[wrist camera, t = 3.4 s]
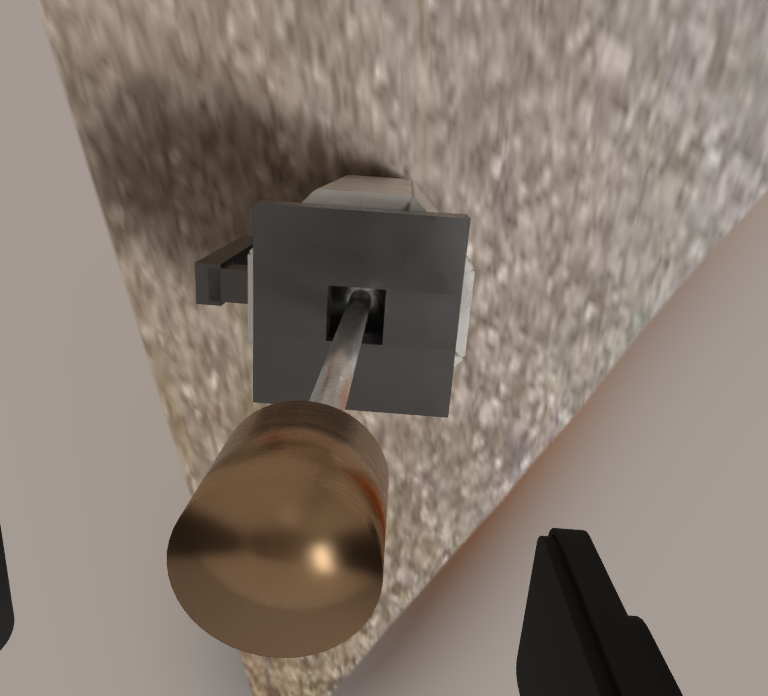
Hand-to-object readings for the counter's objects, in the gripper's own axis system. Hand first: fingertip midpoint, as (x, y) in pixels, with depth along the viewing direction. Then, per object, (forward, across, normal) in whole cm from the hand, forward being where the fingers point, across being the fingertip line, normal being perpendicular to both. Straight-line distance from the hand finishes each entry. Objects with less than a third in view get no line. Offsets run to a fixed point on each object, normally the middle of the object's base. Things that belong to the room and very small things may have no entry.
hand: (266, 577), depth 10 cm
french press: (+31, +1, -1) cm, 31 cm away
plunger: (+19, 0, -1) cm, 19 cm away
